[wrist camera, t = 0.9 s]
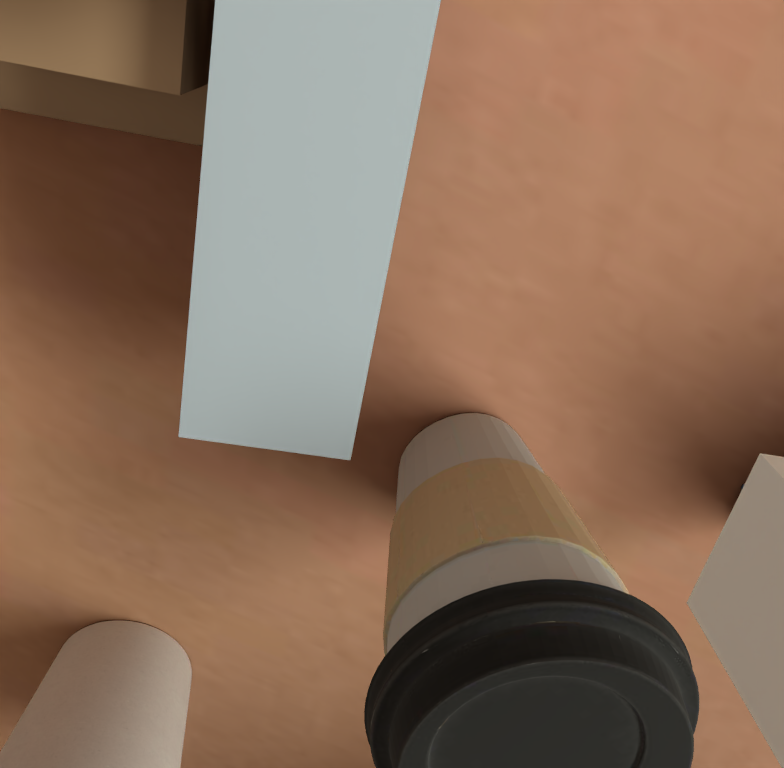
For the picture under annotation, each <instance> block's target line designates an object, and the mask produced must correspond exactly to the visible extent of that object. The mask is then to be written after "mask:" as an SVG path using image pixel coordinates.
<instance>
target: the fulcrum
mask: <svg viewBox="0 0 784 768" xmlns="http://www.w3.org/2000/svg"><path fill="white" fill-rule="evenodd" d="M214 9H215V0H0V108H1V109H7V110H12V111H17V112H23V113H28V114H33V115H39V116H44V117H49V118H55V119H60V120H65V121H71V122H76V123H81V124H87V125H92V126H97V127H103V128H108V129H113V130H119V131H124V132H130V133H135V134H140V135H146V136H151V137H156V138H162V139H167V140H172V141H178V142H183V143H188V144H194V145H199V146H203V140H204V128H205V116H206V104H207V92H208V80H209V69H210V57H211V45H212V33H213V21H214Z"/></svg>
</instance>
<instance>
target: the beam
mask: <svg viewBox="0 0 784 768" xmlns="http://www.w3.org/2000/svg"><path fill="white" fill-rule="evenodd" d="M440 2H441V0H215V9H214V21H213V33H212V45H211V57H210V69H209V80H208V92H207V104H206V116H205V128H204V140H203V152H202V164H201V176H200V188H199V199H198V211H197V223H196V235H195V247H194V259H193V271H192V283H191V295H190V307H189V318H188V330H187V342H186V354H185V366H184V378H183V390H182V402H181V414H180V426H179V437H182V438H190V439H197V440H205V441H212V442H219V443H227V444H234V445H241V446H249V447H256V448H263V449H271V450H278V451H285V452H293V453H300V454H307V455H315V456H322V457H329V458H337V459H344V460H351V455H352V450H353V445H354V440H355V435H356V429H357V424H358V419H359V414H360V409H361V404H362V399H363V394H364V389H365V384H366V379H367V373H368V368H369V363H370V358H371V353H372V348H373V343H374V338H375V333H376V328H377V323H378V317H379V312H380V307H381V302H382V297H383V292H384V287H385V282H386V277H387V272H388V267H389V261H390V256H391V251H392V246H393V241H394V236H395V231H396V226H397V221H398V216H399V211H400V205H401V200H402V195H403V190H404V185H405V180H406V175H407V170H408V165H409V160H410V155H411V149H412V144H413V139H414V134H415V129H416V124H417V119H418V114H419V109H420V104H421V99H422V93H423V88H424V83H425V78H426V73H427V68H428V63H429V58H430V53H431V48H432V43H433V37H434V32H435V27H436V22H437V17H438V12H439V7H440Z"/></svg>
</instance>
